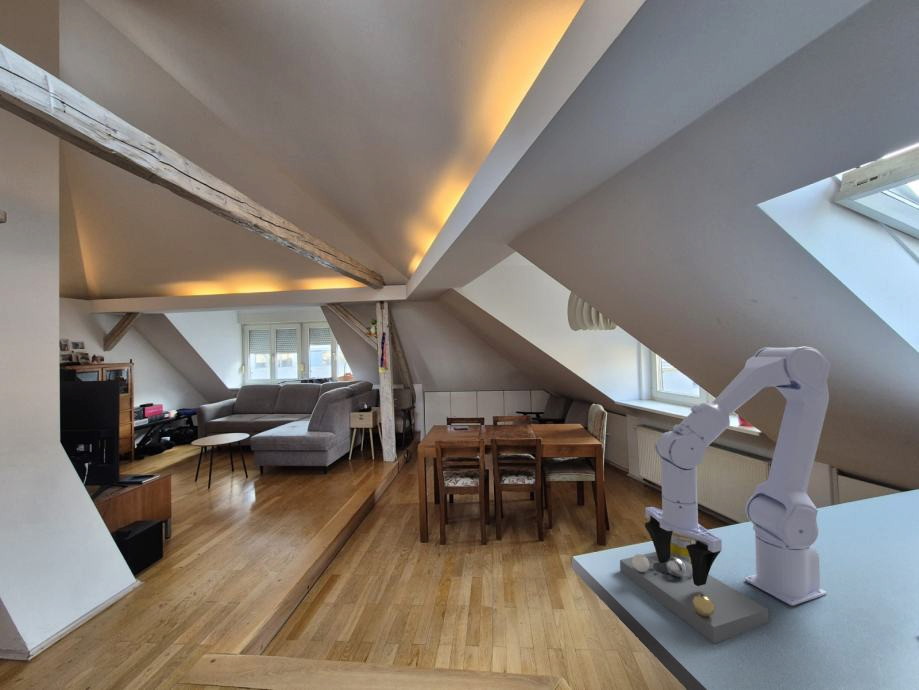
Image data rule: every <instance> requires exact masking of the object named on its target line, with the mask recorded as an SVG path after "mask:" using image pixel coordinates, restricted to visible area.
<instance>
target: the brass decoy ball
mask: <svg viewBox="0 0 919 690" xmlns="http://www.w3.org/2000/svg"><path fill="white" fill-rule="evenodd" d="M692 603H693V607H694V609H695V611H696V612H697V613H698V614H700V615H701V616H704V617H710V616H712V615H713V614H714V611H715V607H714V604H713V602H712V600H711V599H710V598H709V597H707V596H706V595H703V594H698V595H696V596H694V598H693V601H692Z"/></svg>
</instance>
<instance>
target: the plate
mask: <svg viewBox="0 0 919 690" xmlns="http://www.w3.org/2000/svg"><path fill="white" fill-rule="evenodd" d="M643 555H644V556H645V557H646V558H647V559H648V561H649V564H650V566H649V569H648V570H647V571H646V572H640V571H638V570H636V569H635V568H634V566H633V563H632V559H633V557H634V556H631V557H627V558H622V559H620V560H619V571H620V573H621V574H623V575H624V576H625V577H627V578H628V579H629V580H630V581H632V582H633V583H634V584H636V585H637V586H638V587H640V589H642V590H643V591H644V592H646V593H647V594H648V595H650V596H651V597H652V598H653V599H654V600H656V601H657V602H659V603H660V604H661V605H663V606H664V607H665V608H666V609H668V610H669V611H671V612H672V613H673V614H674V615H676V616H677V617H678V618H680V619H681V620H682V621H684V622H685V623H686V624H688V625H689V626H690V627H692V628H693V629H694V630H696V631H697V632H698V633H699V634H701V635H702V636H703V637H705V638H706V639H707V640H709V642H711V643H713V644H718V643H720V642H723V641H727V640H729V639H733V638H734V637H736V636H739V635H742V634H745V633H746V632H749V631H751V630H753V629H756V628H758V627H761V626H764V625H765V624H768V623H769V622H770V621H769V608H767V607H765V606H764V605H762V604H760V603H758V602H757V601H755V600H753V599H751V598H750V597H748V596H746V595H745V594H743V593H742V592H739V591H738V590H736V589H734V588H732V587H731V586H730V585H727V584H726V583H724V582H722V581H721V580H719V579H717V578H715V577H714V576H712V575H711V574H708V577H707V581H706V584H705V585H701V586H696V585H695V584H694V582H693V575H692V564H690V563H688V562H687V561H685V560H683V559H681V558H680V557H678V556H676V555H675V554H673V553H671V552H670V558H671V557H676V558H679V559H680V560H682V561H683V562H684V564H685V566H686V572H685V574H684V575H683V576H681V577H676V576H674V575H672V574H671V573H670V572H669V571H668V569H667V566H666V563H667V562H665V563H660V562H659V560H658V557H657V553H656V551H653V552H648V553H643ZM667 573H668V575H667ZM670 574H671V575H670ZM698 594H703V595H706V596H707V597H709V598H710V599H711V600H712V602H713V604H714V607H715V611H714V614H713V615H712V616H710V617H704V616H701V615H700V614H698V613H697V612H696V611H695V609H694V607H693V603H692V601H693V598H694V596H696V595H698Z"/></svg>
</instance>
